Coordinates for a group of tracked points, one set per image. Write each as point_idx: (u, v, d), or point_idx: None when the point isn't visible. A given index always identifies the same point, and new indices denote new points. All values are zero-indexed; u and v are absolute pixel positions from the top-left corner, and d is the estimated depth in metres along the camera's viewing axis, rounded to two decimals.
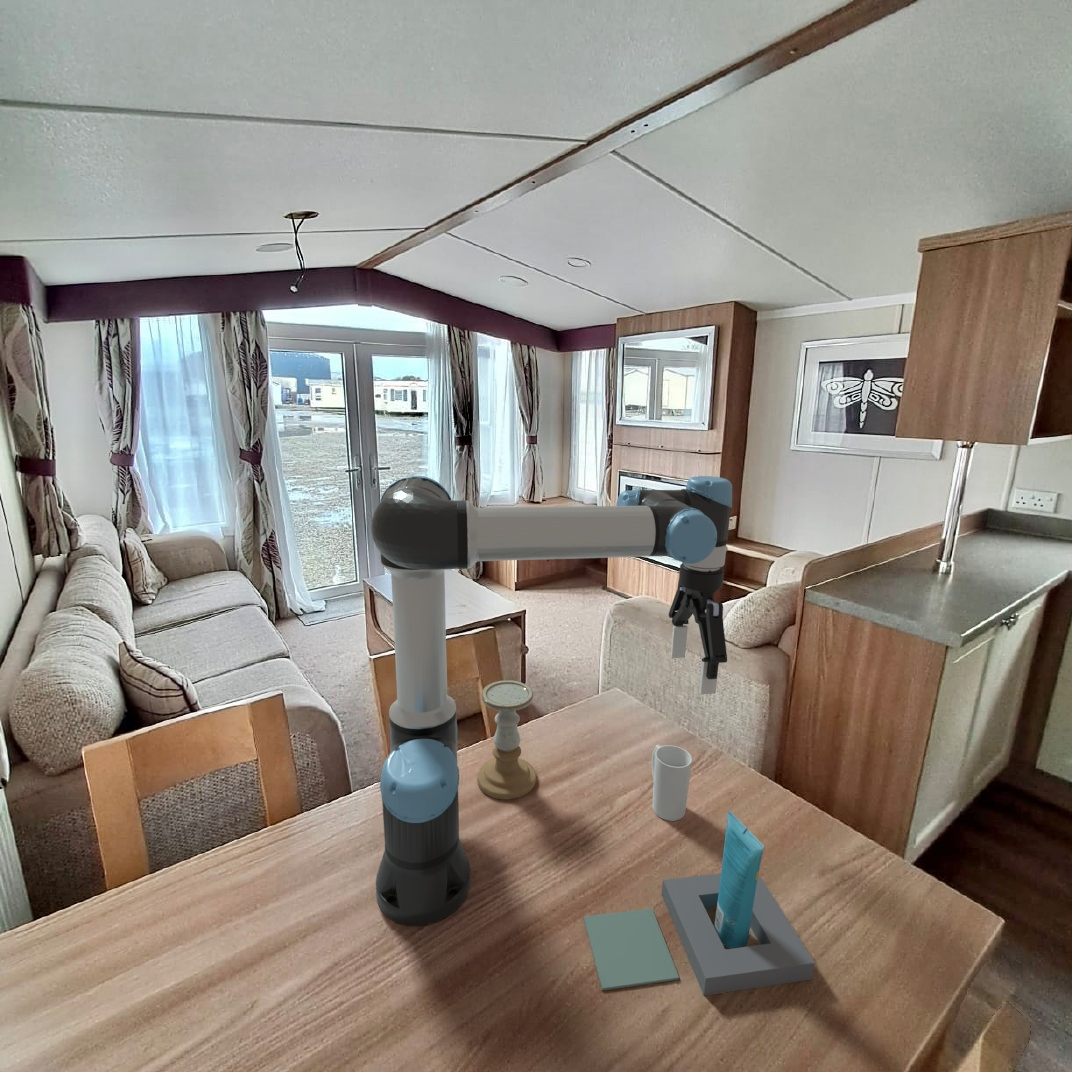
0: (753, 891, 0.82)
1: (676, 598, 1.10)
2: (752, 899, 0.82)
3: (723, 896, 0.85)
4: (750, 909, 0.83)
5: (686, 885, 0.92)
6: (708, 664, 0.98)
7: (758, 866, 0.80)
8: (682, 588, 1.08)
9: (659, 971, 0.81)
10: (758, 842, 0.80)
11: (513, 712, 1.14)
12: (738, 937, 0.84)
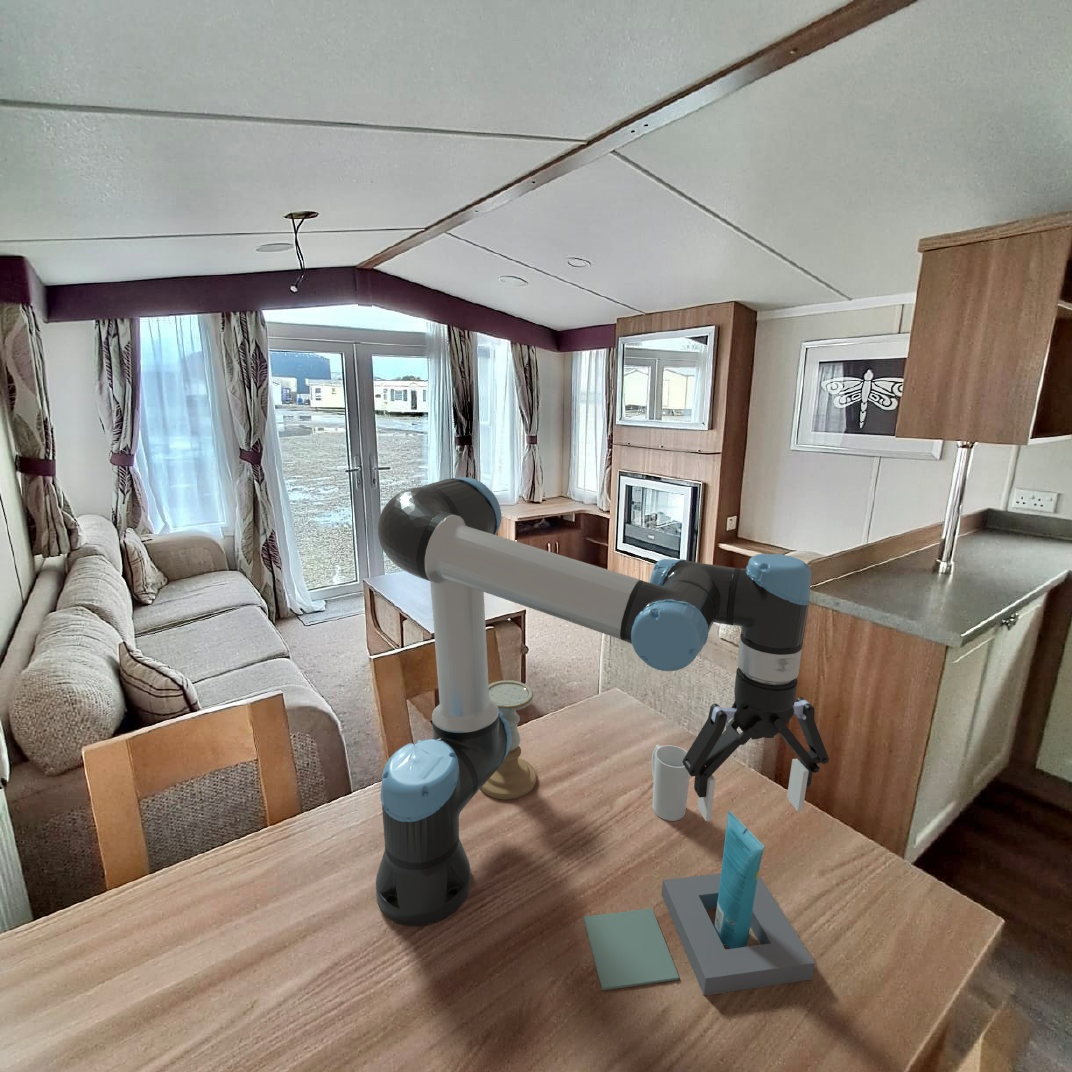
0: (753, 891, 0.82)
1: None
2: (752, 899, 0.82)
3: (723, 896, 0.85)
4: (750, 909, 0.83)
5: (686, 885, 0.92)
6: None
7: (758, 866, 0.80)
8: None
9: (659, 971, 0.81)
10: (758, 842, 0.80)
11: (513, 712, 1.14)
12: (738, 937, 0.84)
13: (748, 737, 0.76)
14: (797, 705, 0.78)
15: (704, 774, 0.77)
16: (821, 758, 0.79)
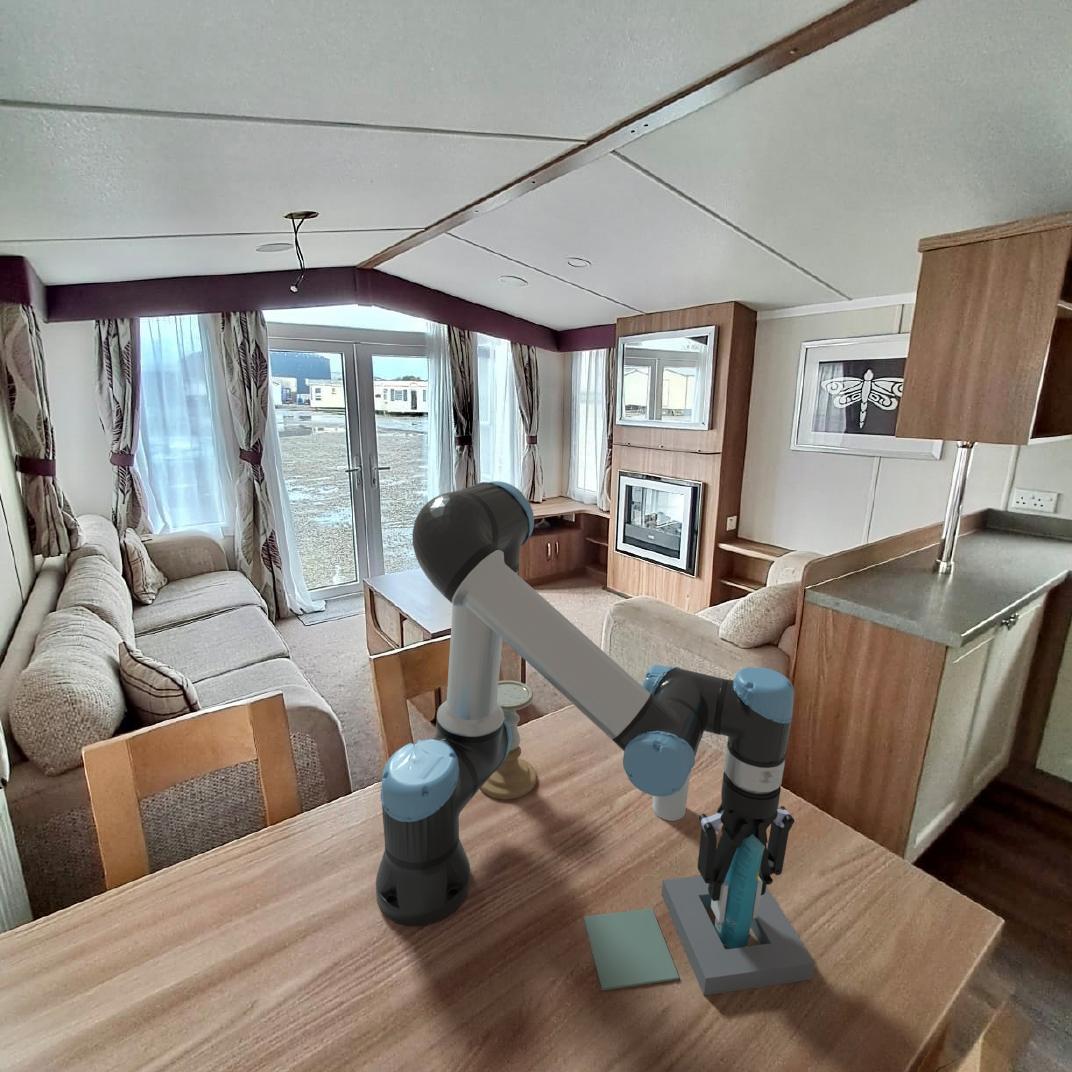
0: (753, 891, 0.82)
1: None
2: (752, 899, 0.82)
3: None
4: (750, 909, 0.83)
5: (686, 885, 0.92)
6: None
7: (758, 866, 0.80)
8: None
9: (659, 971, 0.81)
10: (758, 842, 0.80)
11: (513, 712, 1.14)
12: (738, 937, 0.84)
13: (740, 840, 0.80)
14: (780, 812, 0.82)
15: (717, 882, 0.82)
16: (776, 869, 0.83)
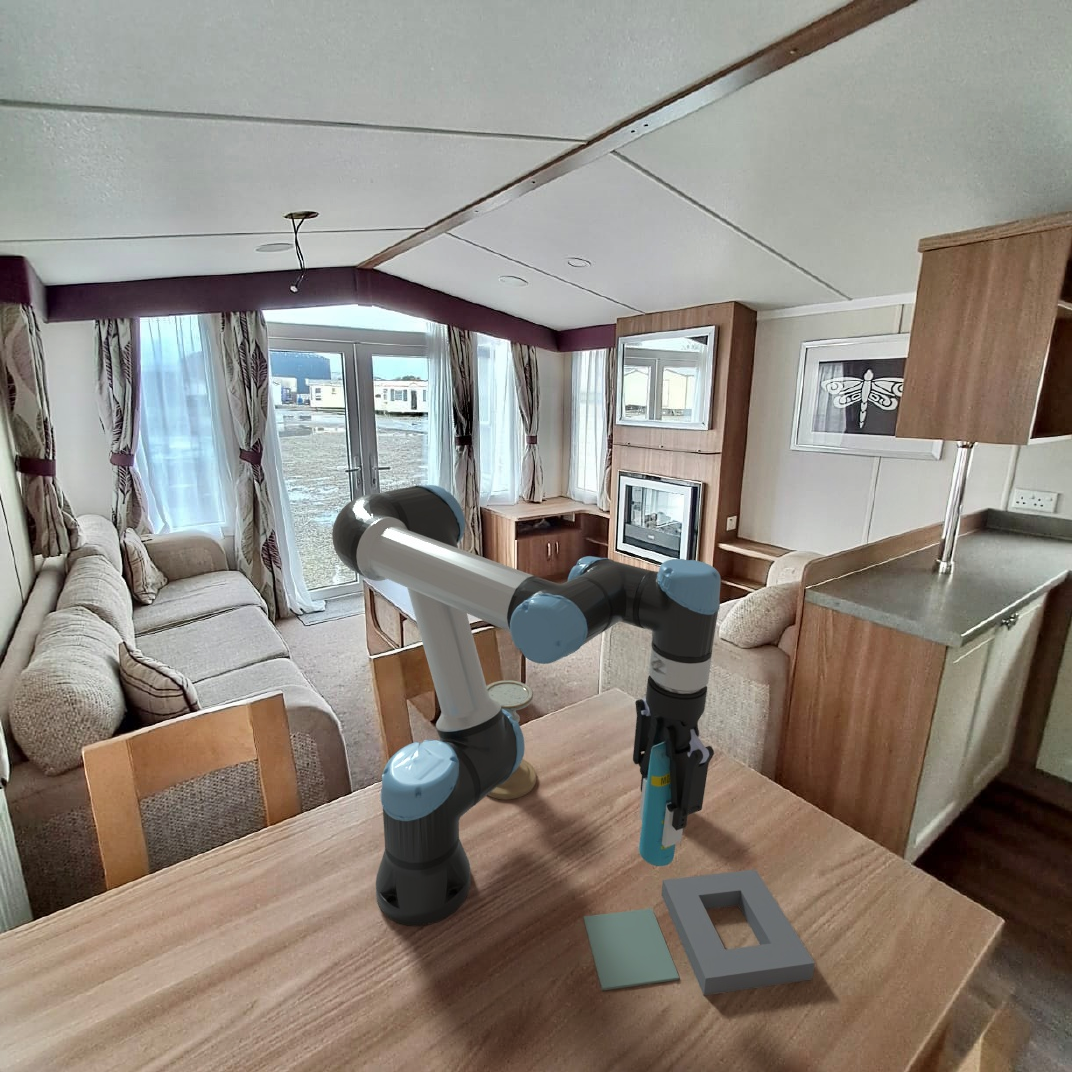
0: (651, 798, 0.77)
1: None
2: (651, 808, 0.77)
3: None
4: (650, 819, 0.78)
5: (686, 885, 0.92)
6: None
7: (651, 768, 0.75)
8: None
9: (659, 971, 0.81)
10: (658, 744, 0.75)
11: (513, 712, 1.14)
12: (641, 842, 0.80)
13: (653, 735, 0.77)
14: (695, 742, 0.71)
15: (640, 770, 0.81)
16: (682, 805, 0.73)
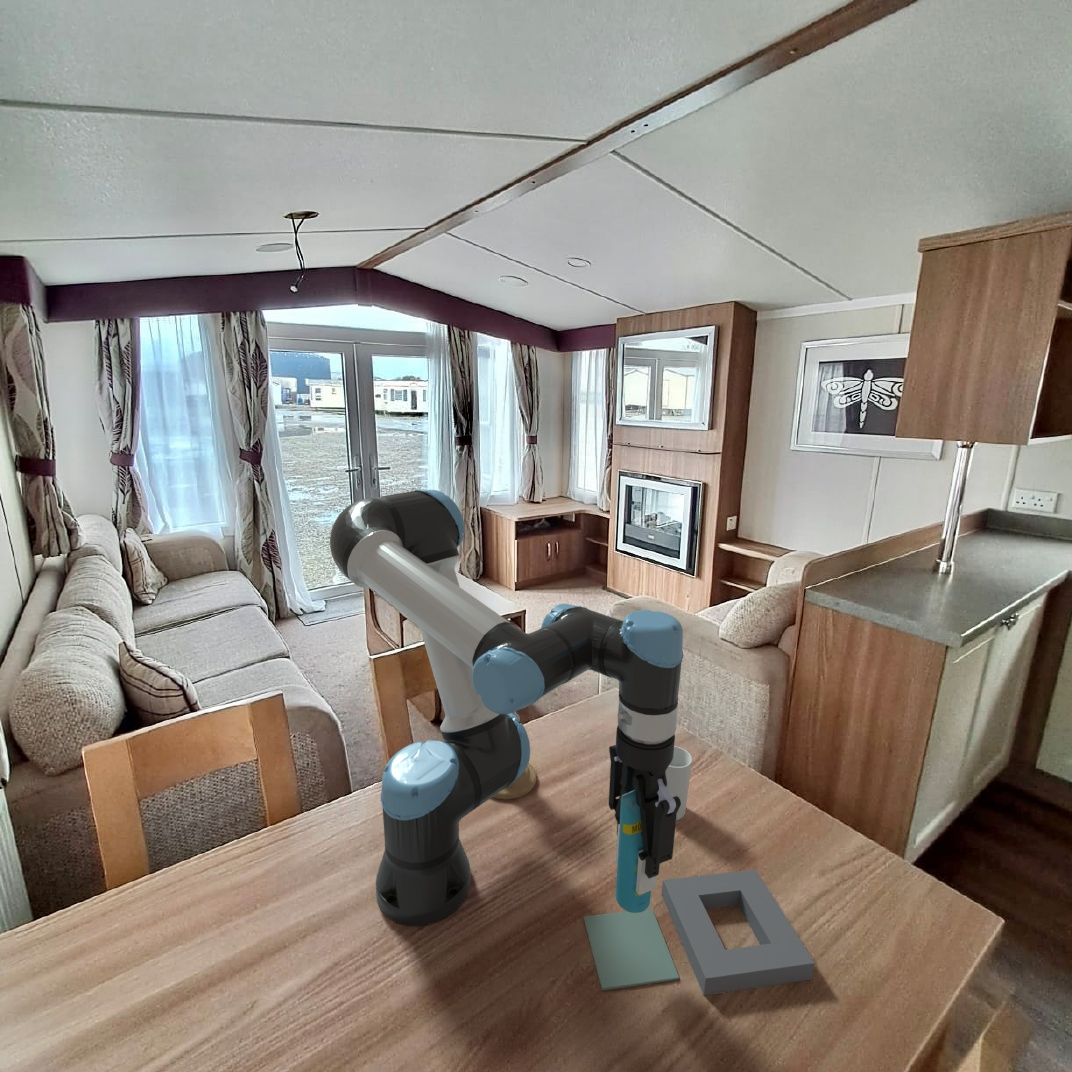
0: (623, 845, 0.78)
1: None
2: (624, 855, 0.78)
3: None
4: (624, 866, 0.79)
5: (686, 885, 0.92)
6: None
7: (622, 816, 0.76)
8: None
9: (659, 971, 0.81)
10: (628, 793, 0.76)
11: (513, 712, 1.14)
12: (617, 888, 0.81)
13: (624, 782, 0.78)
14: (663, 792, 0.72)
15: (615, 815, 0.82)
16: (652, 854, 0.74)
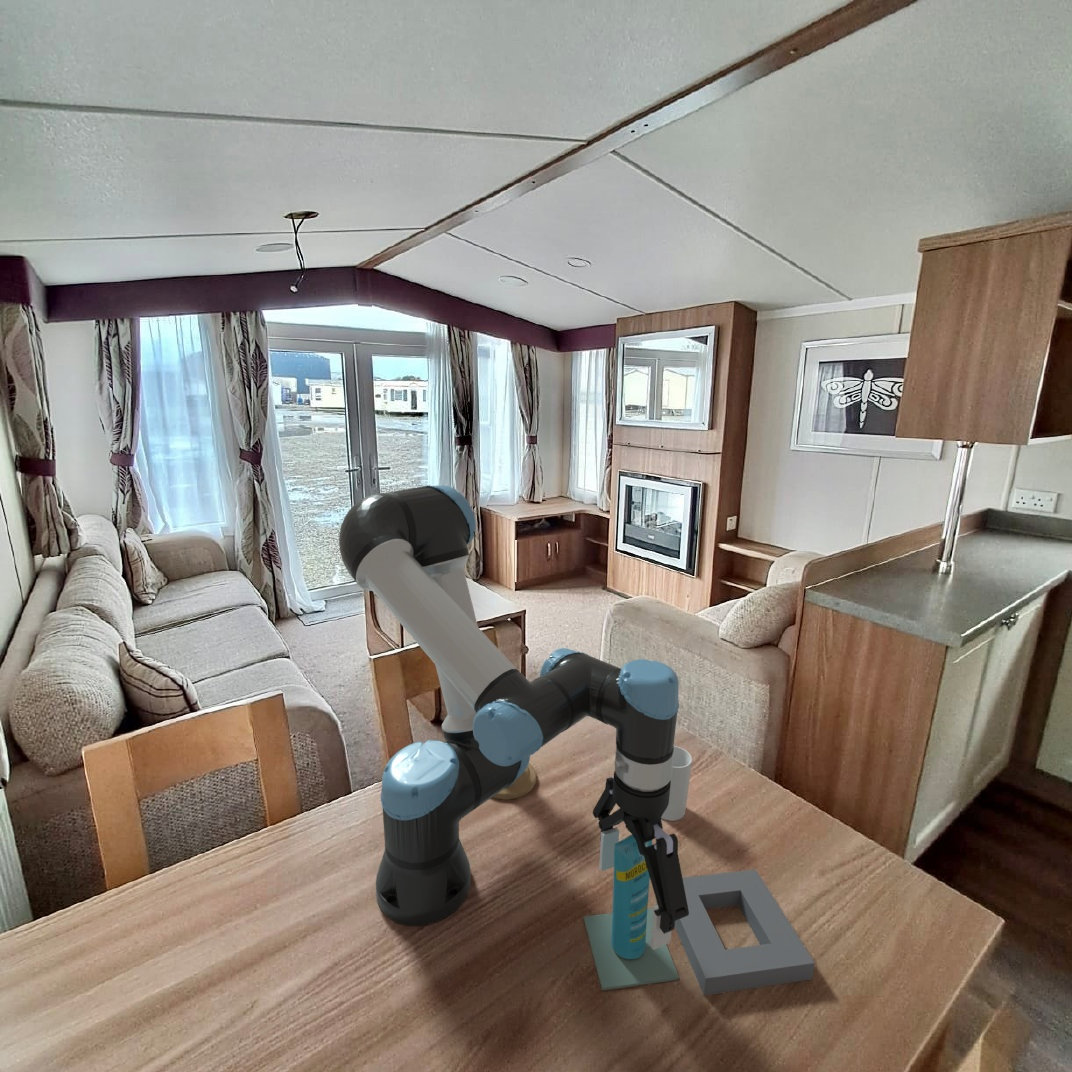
0: (617, 892, 0.80)
1: None
2: (618, 902, 0.81)
3: None
4: (618, 913, 0.81)
5: (686, 885, 0.92)
6: None
7: (616, 863, 0.79)
8: None
9: (659, 971, 0.81)
10: (621, 840, 0.79)
11: None
12: (612, 935, 0.83)
13: (617, 818, 0.81)
14: (658, 832, 0.74)
15: (599, 823, 0.87)
16: (667, 910, 0.72)
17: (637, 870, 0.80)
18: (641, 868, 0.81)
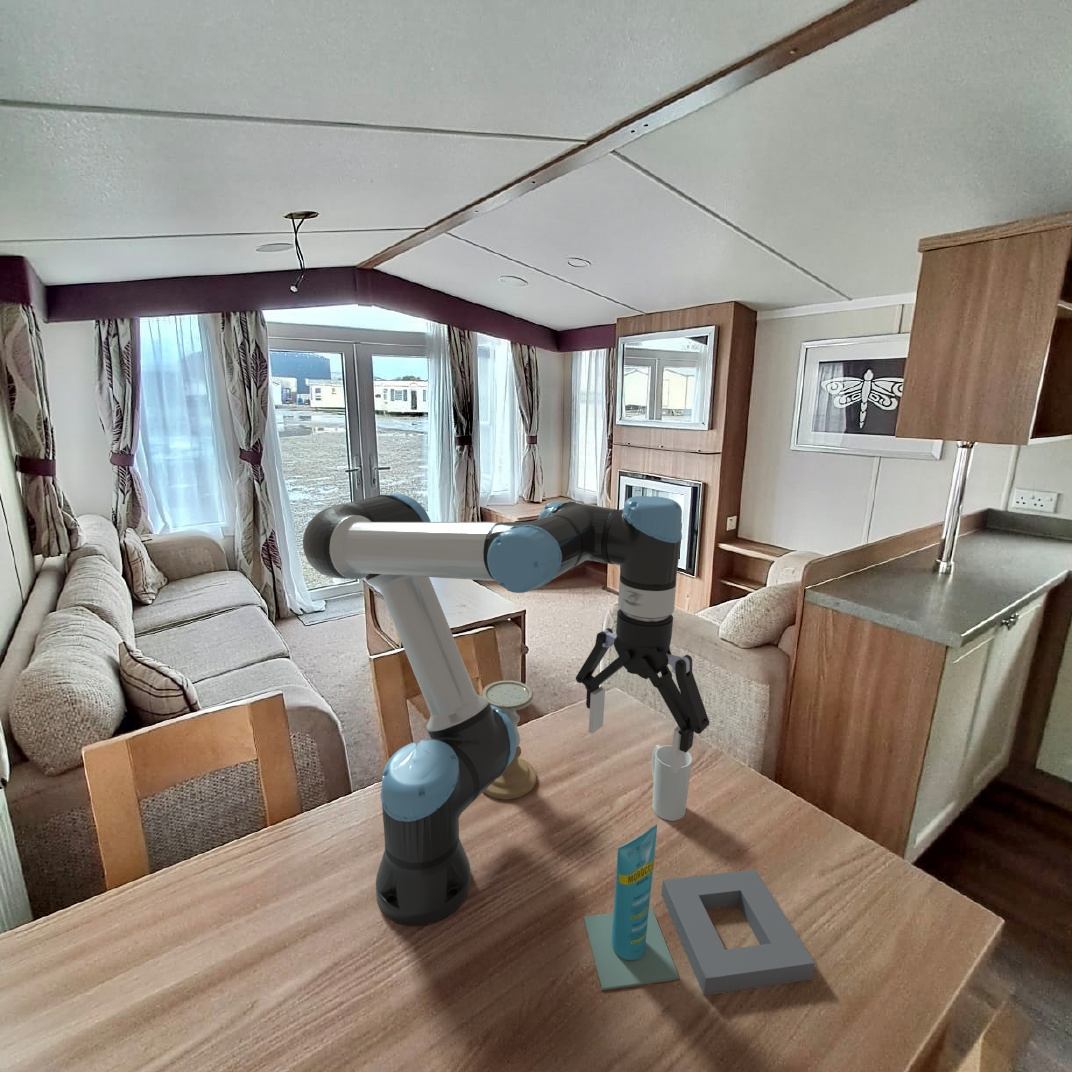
0: (619, 895, 0.80)
1: None
2: (620, 904, 0.80)
3: None
4: (620, 915, 0.81)
5: (686, 885, 0.92)
6: None
7: (619, 867, 0.79)
8: None
9: (659, 971, 0.81)
10: None
11: (513, 712, 1.14)
12: (613, 935, 0.83)
13: (618, 665, 0.81)
14: (673, 657, 0.77)
15: (587, 685, 0.86)
16: (693, 725, 0.75)
17: (639, 873, 0.80)
18: (643, 871, 0.80)
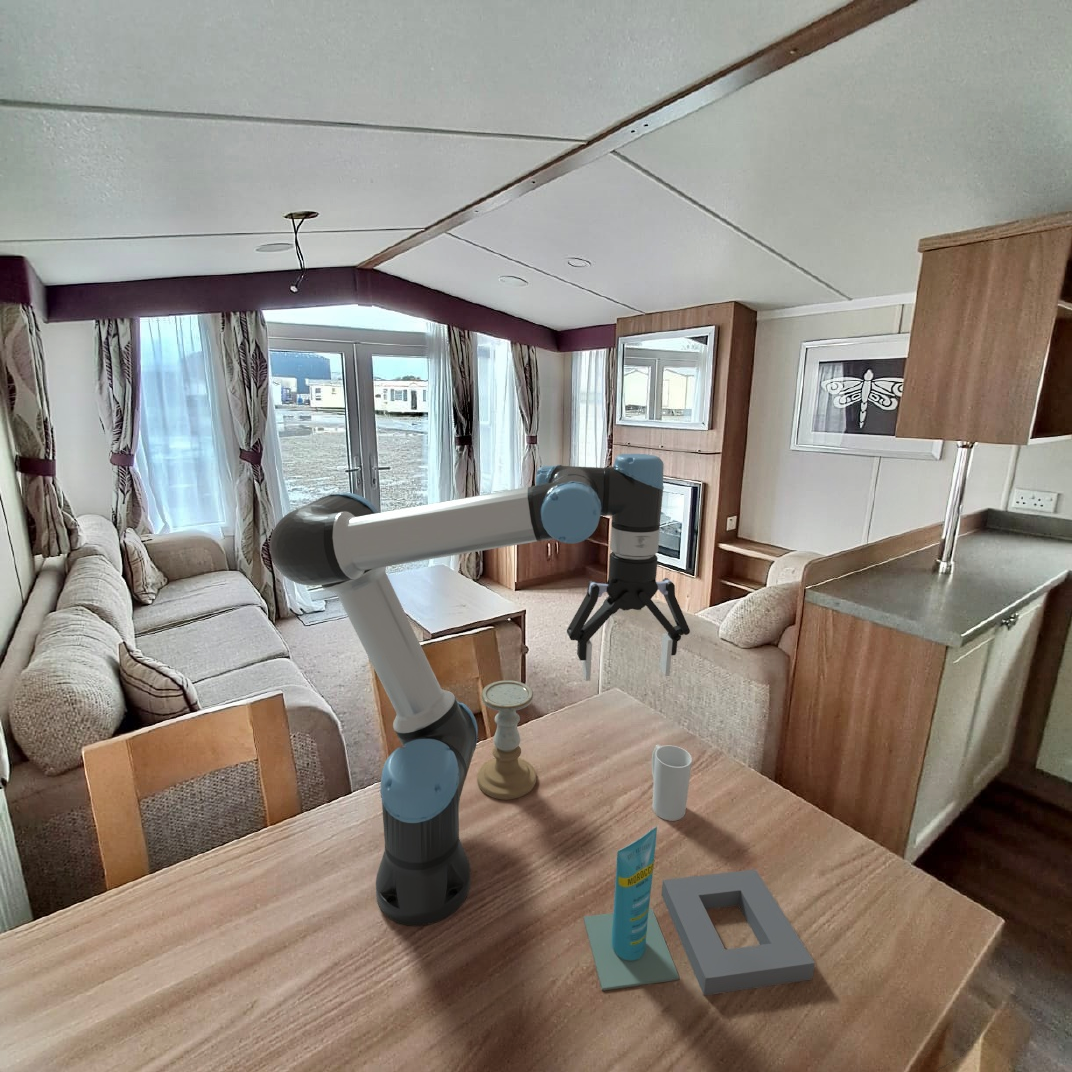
0: (619, 897, 0.80)
1: None
2: (620, 906, 0.80)
3: None
4: (619, 916, 0.81)
5: (686, 885, 0.92)
6: None
7: (618, 870, 0.78)
8: None
9: (659, 971, 0.81)
10: (624, 847, 0.78)
11: (513, 712, 1.14)
12: (613, 936, 0.83)
13: (618, 607, 0.92)
14: (661, 583, 0.93)
15: (582, 639, 0.93)
16: (683, 629, 0.95)
17: (639, 875, 0.80)
18: (643, 873, 0.80)
